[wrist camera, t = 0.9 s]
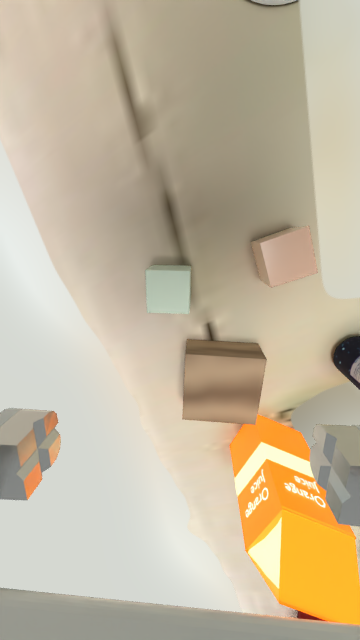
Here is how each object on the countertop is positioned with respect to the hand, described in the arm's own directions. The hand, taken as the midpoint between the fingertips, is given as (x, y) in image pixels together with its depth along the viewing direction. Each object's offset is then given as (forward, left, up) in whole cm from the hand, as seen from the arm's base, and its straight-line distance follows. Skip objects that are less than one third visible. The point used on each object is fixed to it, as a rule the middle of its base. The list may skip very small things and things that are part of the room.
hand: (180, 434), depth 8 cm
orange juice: (+25, +12, -27) cm, 39 cm away
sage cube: (0, -3, -26) cm, 27 cm away
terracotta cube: (-4, +10, -26) cm, 29 cm away
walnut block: (+13, +4, -27) cm, 30 cm away
